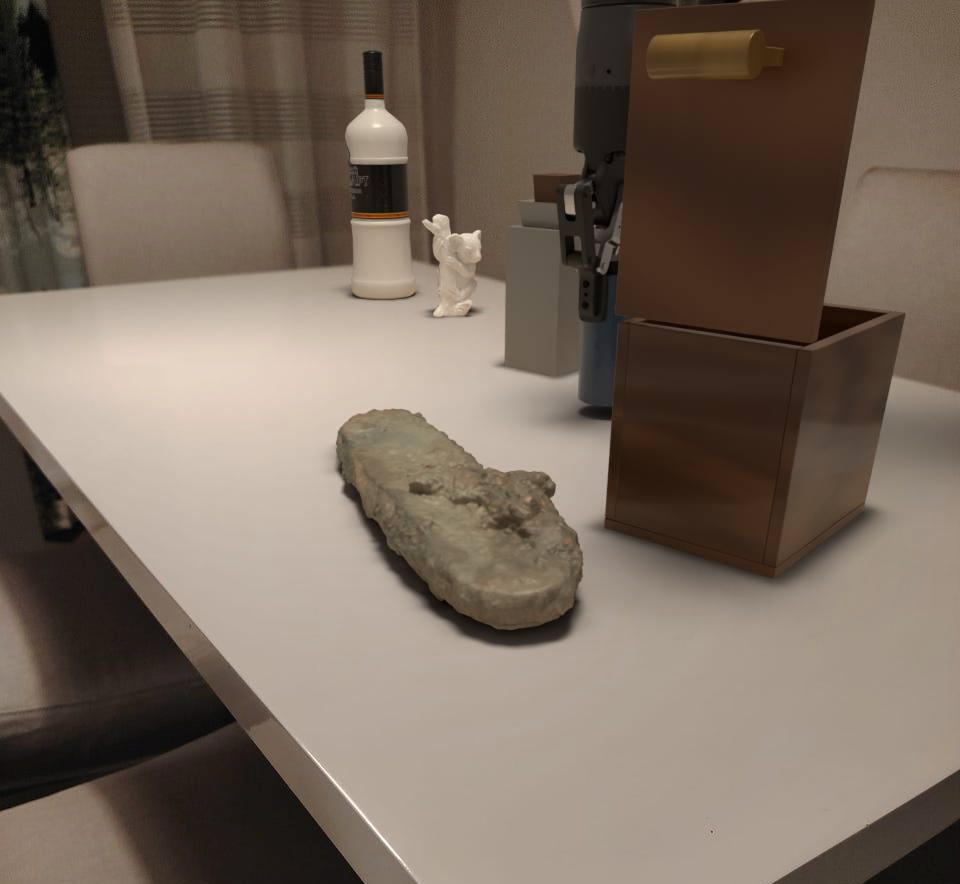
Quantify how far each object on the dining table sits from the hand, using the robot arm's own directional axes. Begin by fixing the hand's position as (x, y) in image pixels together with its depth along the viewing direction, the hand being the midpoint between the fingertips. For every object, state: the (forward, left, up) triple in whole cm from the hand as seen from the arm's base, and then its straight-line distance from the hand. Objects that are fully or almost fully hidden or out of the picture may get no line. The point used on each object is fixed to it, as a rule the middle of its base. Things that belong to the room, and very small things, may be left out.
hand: (612, 315), depth 79 cm
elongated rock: (+28, +5, -9) cm, 30 cm away
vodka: (-30, -58, -9) cm, 66 cm away
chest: (+15, +20, -8) cm, 27 cm away
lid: (+22, +20, +12) cm, 32 cm away
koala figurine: (-26, -41, -9) cm, 49 cm away
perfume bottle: (-11, -14, -9) cm, 20 cm away
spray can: (0, 0, -7) cm, 7 cm away
